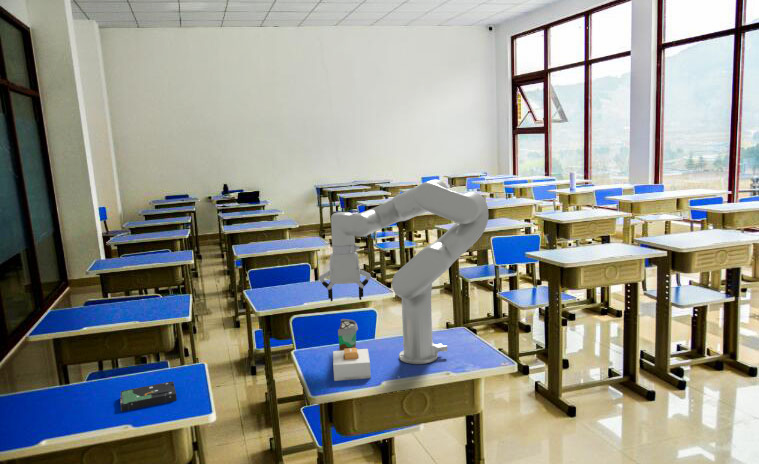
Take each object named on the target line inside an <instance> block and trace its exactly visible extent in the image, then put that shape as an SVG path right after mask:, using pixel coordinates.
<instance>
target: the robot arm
mask: <svg viewBox="0 0 759 464" xmlns="http://www.w3.org/2000/svg"><path fill="white" fill-rule="evenodd" d="M427 212H428V213H431V214H433V215H436V216H438V217H442V218H443V219H446V220H449V221H452V222H454V223H455V224H453V225H452V226H451V227H450V228H449V229H447V231H446V232H445V233H443V235H441V236H440V237H438V238H437V240H435V241H434V242H432V243H429V244H428V245H427V246H425V247H424V248H422V249H420V251H419V252H417V253H416V254H415V255H414V256H413V257H412V258H411V259H410V260H408V262H406V263H405V264H404V265H403V266H402V267H401V268H399V270H397V271H396V272H395V273H394V275H393V277H392V281H391V287H392V290H393V292H394V294H395V295H396V296H397V297H399V298H401V320H402V340H403V341H402V342H403V350H402V351H400V352H399V354H398V359H399V360H400V361H401V362H402V363H406V364H410V365H424V364H429V363H432V362H435V361H436V360H438V357H439V354H438V353H440V352H443V353H444V352H448V345H443V344H442V343H438V344H436V343H434V341H433V320H432V319H433V318H432V289H433V288H432V287H433V283H434V282H435V281H436V280H437V279H439V278H440V277H441V276H442V275H444V273H445V272H447V271H448V269H449V270H450V267H452V265H453V264H454V263H455V262H456V261H457V260H458V259H459V258H460V257H462V255H463V254H465V253H466V252H467V251H468V250H469V249H470V248H471V247H472V246H473V245H474V244H476V242H478V240H479V239H480V238H481V237H482V235H483V234H484V232H485V230H486V228H487V225H488V221H489V217H490V216H489V207H488V204H487V201H486V199H485V198H484V196H483V195H481V194H480V193H478V192H474V191H469V192H465V193H460V192H457V191H454V190H450V189H449V188H448V185H447V184H446V183H445V182H444V181H442V180H440V179H431V180H428V181H424V182H422V183H420V184H419V185H417V186H415V187H413V188H410V189H408V190H405V191H403V192H402V193H401V192H400V193H399V194H397V195H395V196H394V197H393V198H392V199H390V200H388V201H387V202H384V203H382V204H380V205H378V206H375V207H372V208H370V209H368V210H365V211H362V212H360V213H359V212H358V213H354V214H353V213H352V212H348V211H341V212H339V211H338V212H334V213H333V214H332V215H331V216H330V217H331V219H330V221H331V222H330V223H331V243H332V245H331V246H332V247H331V248H332V253H330V255H329V256H330V257H329V270H328V271H326V272H324V273H323V274H321V275H318V279H319V281H320V283H321V284H322V286H324V288H326V289H327V295H328V296H327V297H328V299H329V300H330V302H331V303H332V302H334V301H333V300H334V299H333V287H334V286H335V285H345V284H347V285H348V284H357V286H358V299H359V300H360V301H362V298H364V288H365V287H366V285H367V284H369V281H370V279H371V277H372V275H371V273H370V272H367V271H366V270H363V269H360V266H361V265H360V258H359V253H358V252H357V250H360V245H357V244H356V240H355V238H356V237H367V236H369V235H371V234H372V233H375V232H377V231H379V230H381V229H384V228H387V227H389V226H392V225H394V224H396V223H398V222H406V221H408V220H410V219H413V218H416V217H417V216H420V215H422V214H424V213H427ZM361 275H362V276H365V278H364V280H363V281H361ZM327 277H329V283H328V282H327V281H326V280H325V279H326V278H327Z"/></svg>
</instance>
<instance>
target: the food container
mask: <svg viewBox="0 0 759 464" xmlns="http://www.w3.org/2000/svg"><path fill="white" fill-rule="evenodd" d="M358 330H359V327H358V324H357V322H356V321H355V320H353V319H347V318H342V319H340V325H339V329H337V336H338V347H339V348H338V349H339V350H338V351H342V350H344V349H346V348H357V331H358Z"/></svg>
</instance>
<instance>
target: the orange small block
mask: <svg viewBox="0 0 759 464" xmlns="http://www.w3.org/2000/svg"><path fill="white" fill-rule="evenodd" d="M357 349H358V348H357V347H356V348H346V349H344V356H345V360H347V359H358V354H357Z"/></svg>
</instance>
